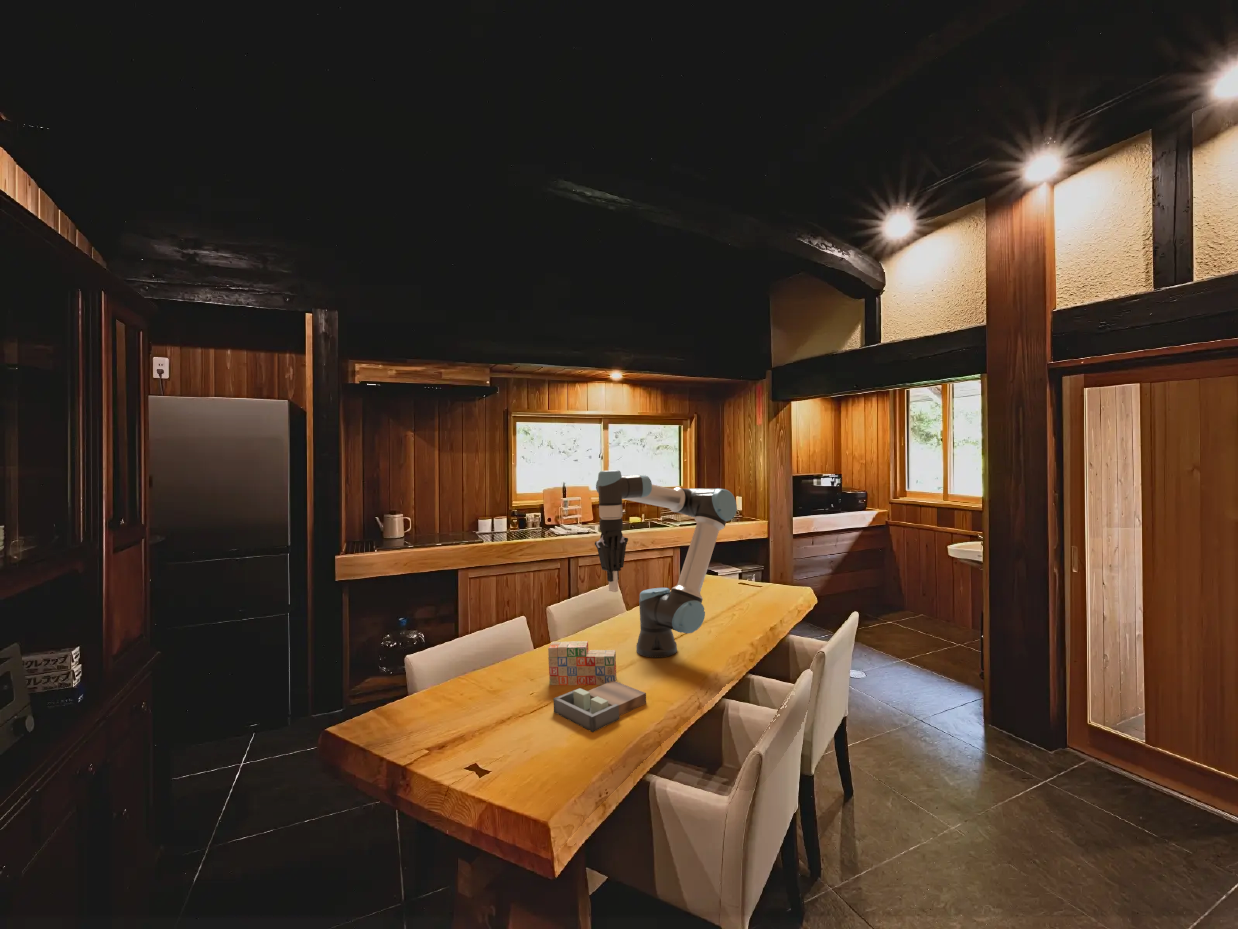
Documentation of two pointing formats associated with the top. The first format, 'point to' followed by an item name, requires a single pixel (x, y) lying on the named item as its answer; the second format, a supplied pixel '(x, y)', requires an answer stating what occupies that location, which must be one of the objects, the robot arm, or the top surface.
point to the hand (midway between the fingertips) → (613, 591)
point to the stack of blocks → (580, 664)
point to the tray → (584, 713)
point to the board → (619, 696)
